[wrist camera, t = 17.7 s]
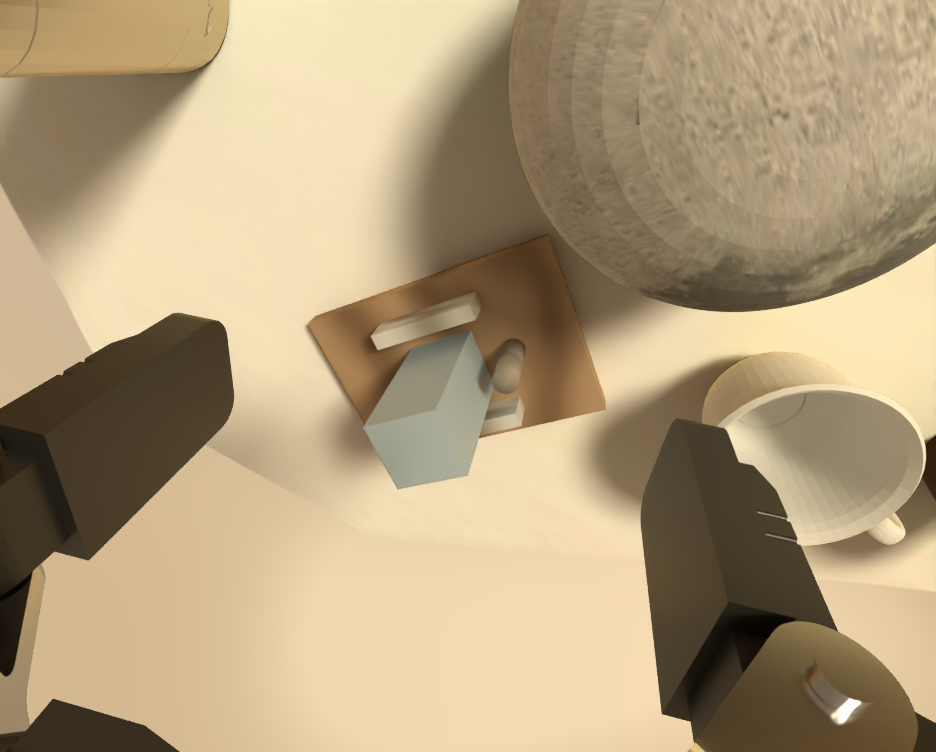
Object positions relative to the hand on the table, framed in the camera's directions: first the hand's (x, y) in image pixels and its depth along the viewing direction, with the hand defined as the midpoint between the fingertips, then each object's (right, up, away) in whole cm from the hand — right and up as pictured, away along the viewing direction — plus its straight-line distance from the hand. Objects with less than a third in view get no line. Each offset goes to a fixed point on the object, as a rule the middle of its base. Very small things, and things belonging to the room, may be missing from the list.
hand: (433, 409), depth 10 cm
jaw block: (-1, +1, +33) cm, 33 cm away
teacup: (+24, -1, +31) cm, 39 cm away
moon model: (+14, +18, +22) cm, 32 cm away
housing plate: (0, +2, +34) cm, 34 cm away
